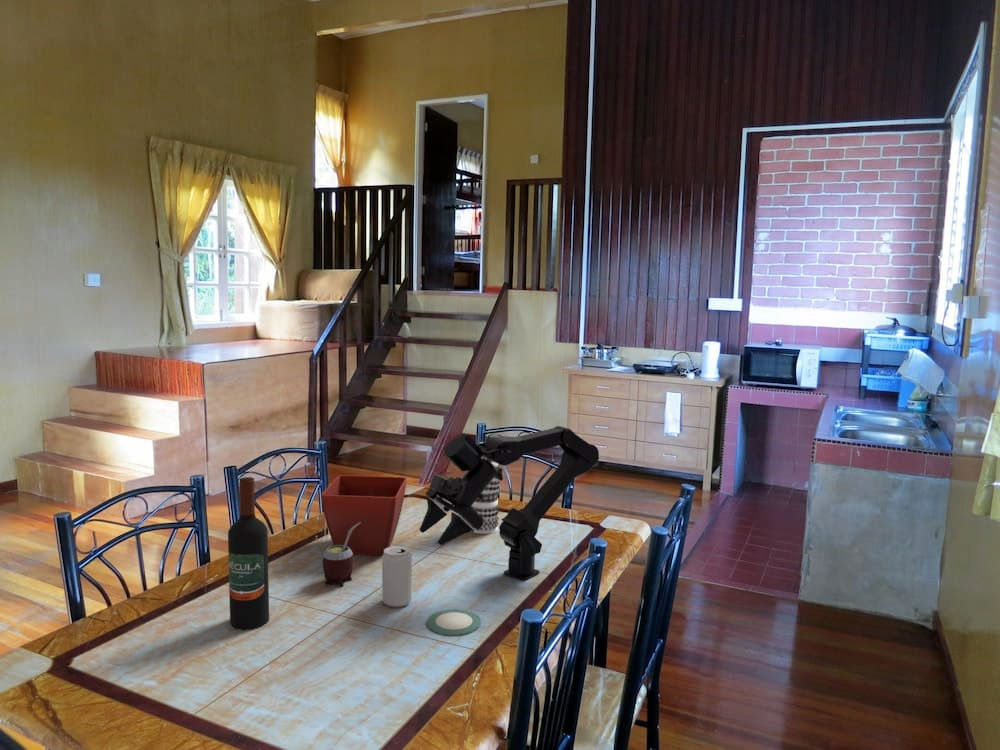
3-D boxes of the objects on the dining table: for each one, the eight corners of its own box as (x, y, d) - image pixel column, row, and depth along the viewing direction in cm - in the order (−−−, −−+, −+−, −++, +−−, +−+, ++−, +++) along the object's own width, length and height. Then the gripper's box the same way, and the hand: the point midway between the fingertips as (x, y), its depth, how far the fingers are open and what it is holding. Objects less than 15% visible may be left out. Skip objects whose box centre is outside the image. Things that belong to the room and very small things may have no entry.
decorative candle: (462, 525, 209) (463, 441, 206) (491, 522, 213) (493, 439, 210) (474, 535, 201) (476, 448, 198) (504, 531, 205) (506, 446, 202)
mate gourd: (319, 578, 169) (319, 517, 167) (352, 573, 173) (352, 513, 171) (327, 590, 163) (327, 526, 161) (361, 584, 166) (361, 522, 164)
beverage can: (406, 610, 154) (406, 556, 152) (377, 607, 155) (377, 553, 153) (415, 597, 160) (415, 546, 158) (388, 594, 161) (388, 543, 160)
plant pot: (395, 561, 181) (395, 496, 179) (320, 559, 181) (319, 494, 179) (407, 535, 200) (407, 476, 198) (338, 533, 200) (338, 475, 198)
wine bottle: (276, 616, 149) (274, 476, 146) (253, 632, 142) (250, 485, 139) (246, 610, 152) (243, 472, 148) (221, 626, 145) (218, 481, 141)
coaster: (452, 606, 156) (452, 604, 156) (491, 621, 149) (491, 619, 149) (416, 624, 147) (416, 621, 147) (456, 641, 141) (456, 638, 141)
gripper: (433, 453, 169) (389, 505, 164) (471, 471, 153) (424, 529, 148) (462, 481, 174) (420, 533, 169) (502, 501, 158) (458, 559, 153)
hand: (429, 537), depth 160 cm, fingers open, 9 cm apart
